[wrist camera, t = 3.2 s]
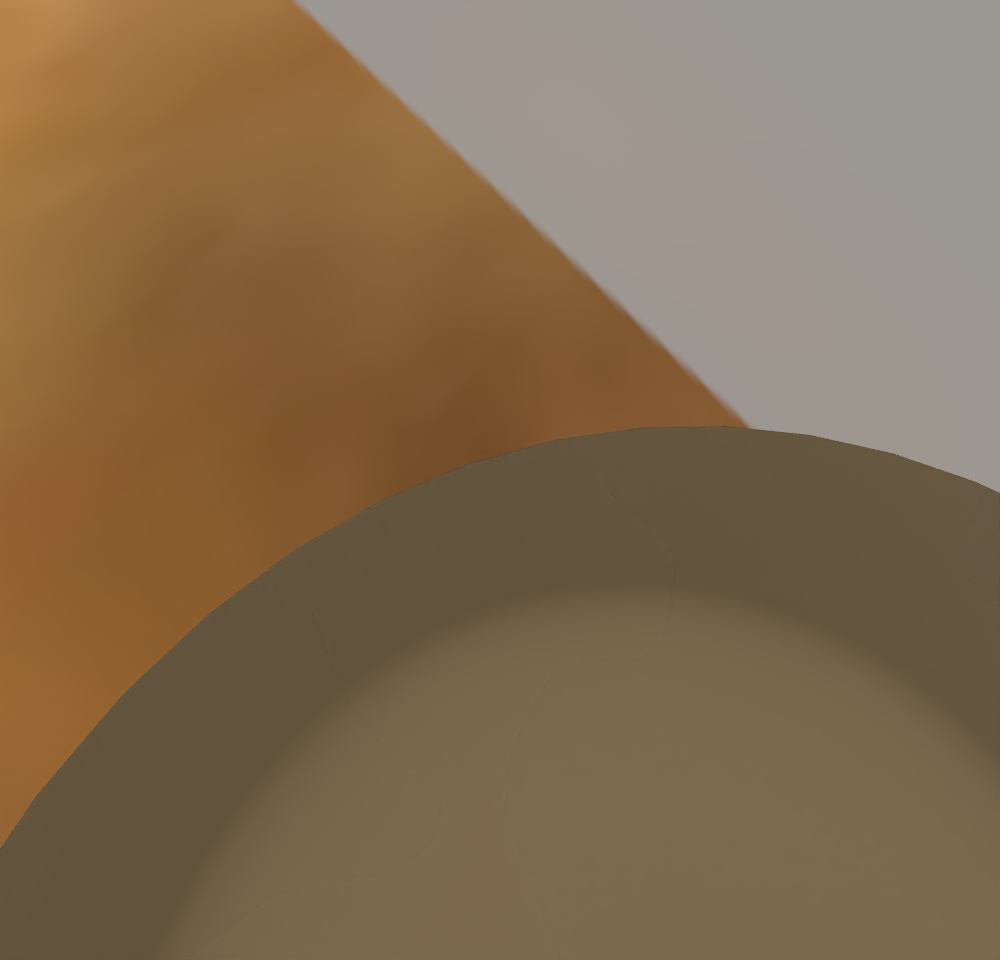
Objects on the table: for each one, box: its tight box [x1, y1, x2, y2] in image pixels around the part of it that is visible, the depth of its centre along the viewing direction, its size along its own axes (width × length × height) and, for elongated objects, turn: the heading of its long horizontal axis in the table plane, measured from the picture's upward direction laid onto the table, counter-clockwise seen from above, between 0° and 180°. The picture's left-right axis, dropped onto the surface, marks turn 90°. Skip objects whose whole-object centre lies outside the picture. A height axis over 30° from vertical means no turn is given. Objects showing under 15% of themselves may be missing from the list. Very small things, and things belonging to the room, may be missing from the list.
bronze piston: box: [0, 426, 1000, 960], centre depth 8 cm, size 6×6×12 cm
